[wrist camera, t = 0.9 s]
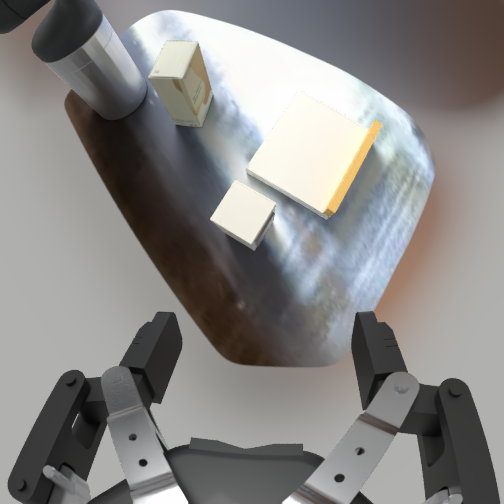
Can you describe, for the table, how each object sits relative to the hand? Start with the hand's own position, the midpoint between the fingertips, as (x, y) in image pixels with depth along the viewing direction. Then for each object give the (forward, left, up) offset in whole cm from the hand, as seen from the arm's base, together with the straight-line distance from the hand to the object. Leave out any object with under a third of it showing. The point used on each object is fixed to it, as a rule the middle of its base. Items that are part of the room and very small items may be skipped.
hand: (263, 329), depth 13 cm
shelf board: (-4, +19, -25) cm, 31 cm away
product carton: (-6, +6, -25) cm, 26 cm away
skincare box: (-22, +17, -25) cm, 37 cm away
